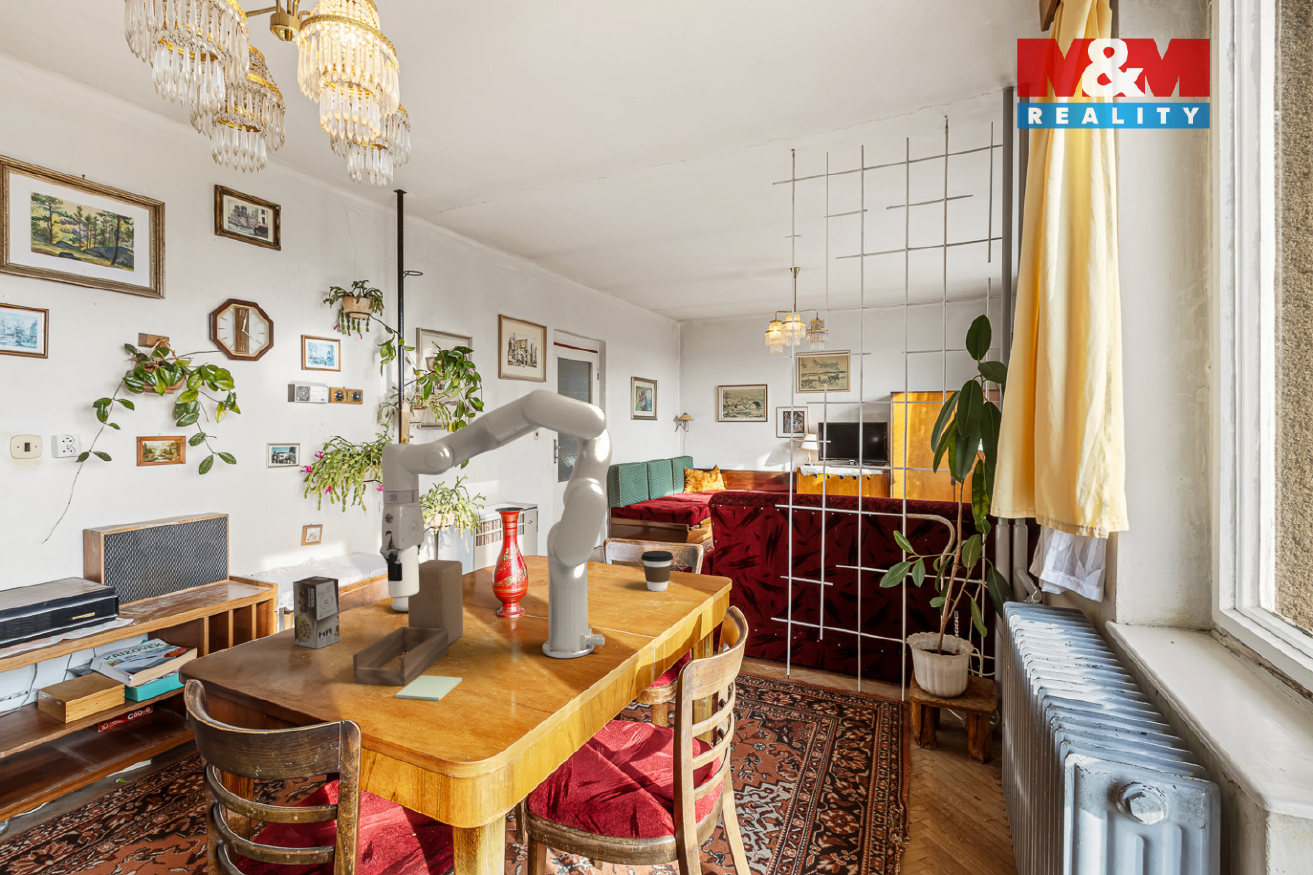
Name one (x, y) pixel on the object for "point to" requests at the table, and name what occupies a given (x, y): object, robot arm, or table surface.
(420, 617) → the block
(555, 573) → the robot arm
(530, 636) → the table surface
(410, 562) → the can
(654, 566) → the coffee cup
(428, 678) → the sage mat
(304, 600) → the coffee box
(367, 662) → the walnut box
